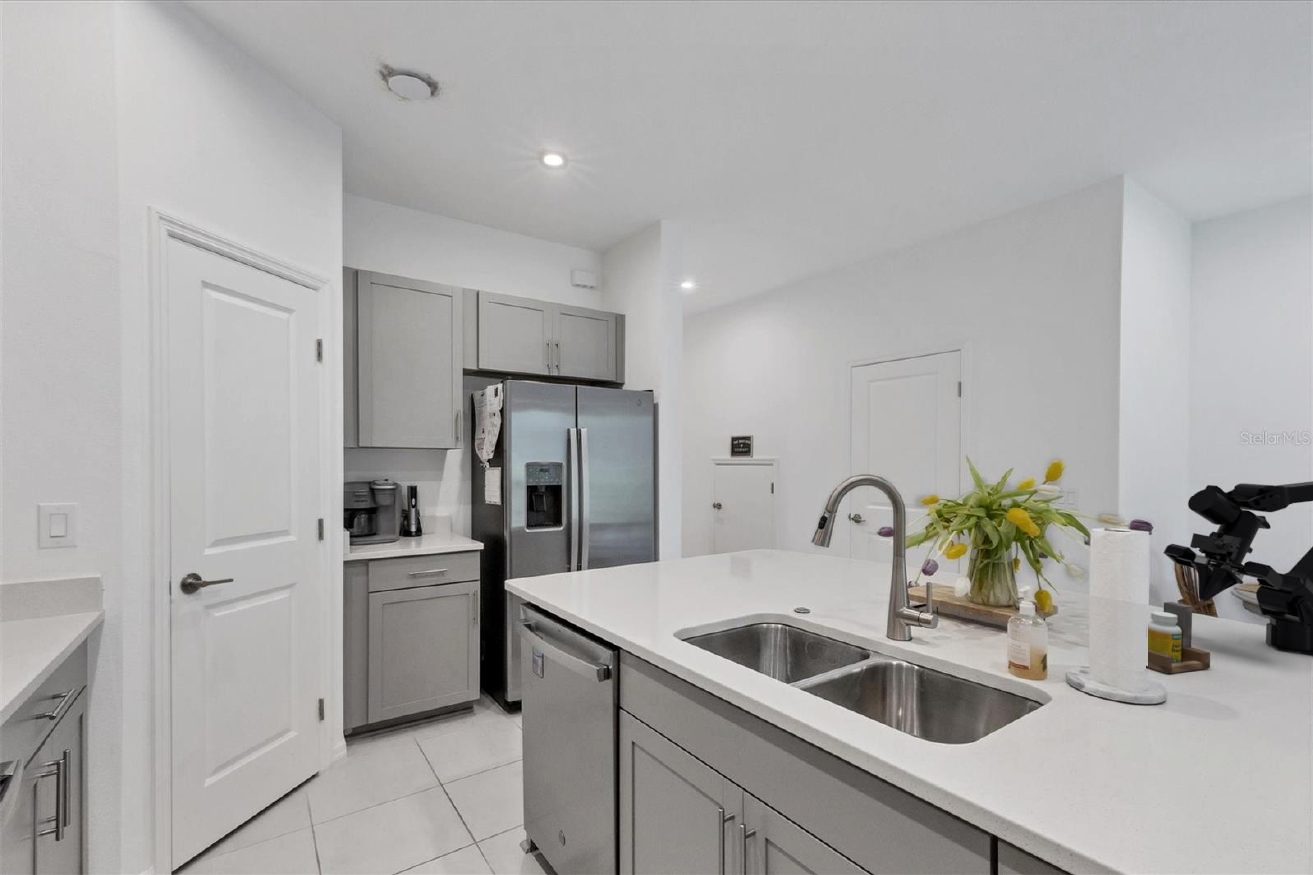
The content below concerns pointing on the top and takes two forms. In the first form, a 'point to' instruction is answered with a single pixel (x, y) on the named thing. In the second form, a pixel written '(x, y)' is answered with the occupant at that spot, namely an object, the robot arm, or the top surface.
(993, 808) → the top surface
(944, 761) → the top surface
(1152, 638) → the supplement bottle
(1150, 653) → the wooden display stand
